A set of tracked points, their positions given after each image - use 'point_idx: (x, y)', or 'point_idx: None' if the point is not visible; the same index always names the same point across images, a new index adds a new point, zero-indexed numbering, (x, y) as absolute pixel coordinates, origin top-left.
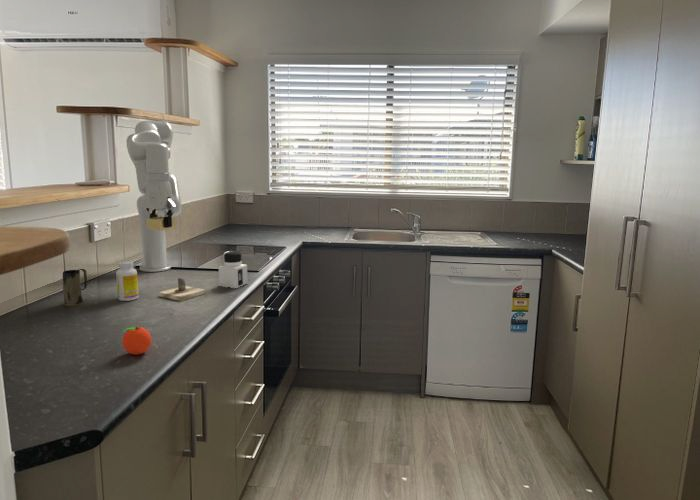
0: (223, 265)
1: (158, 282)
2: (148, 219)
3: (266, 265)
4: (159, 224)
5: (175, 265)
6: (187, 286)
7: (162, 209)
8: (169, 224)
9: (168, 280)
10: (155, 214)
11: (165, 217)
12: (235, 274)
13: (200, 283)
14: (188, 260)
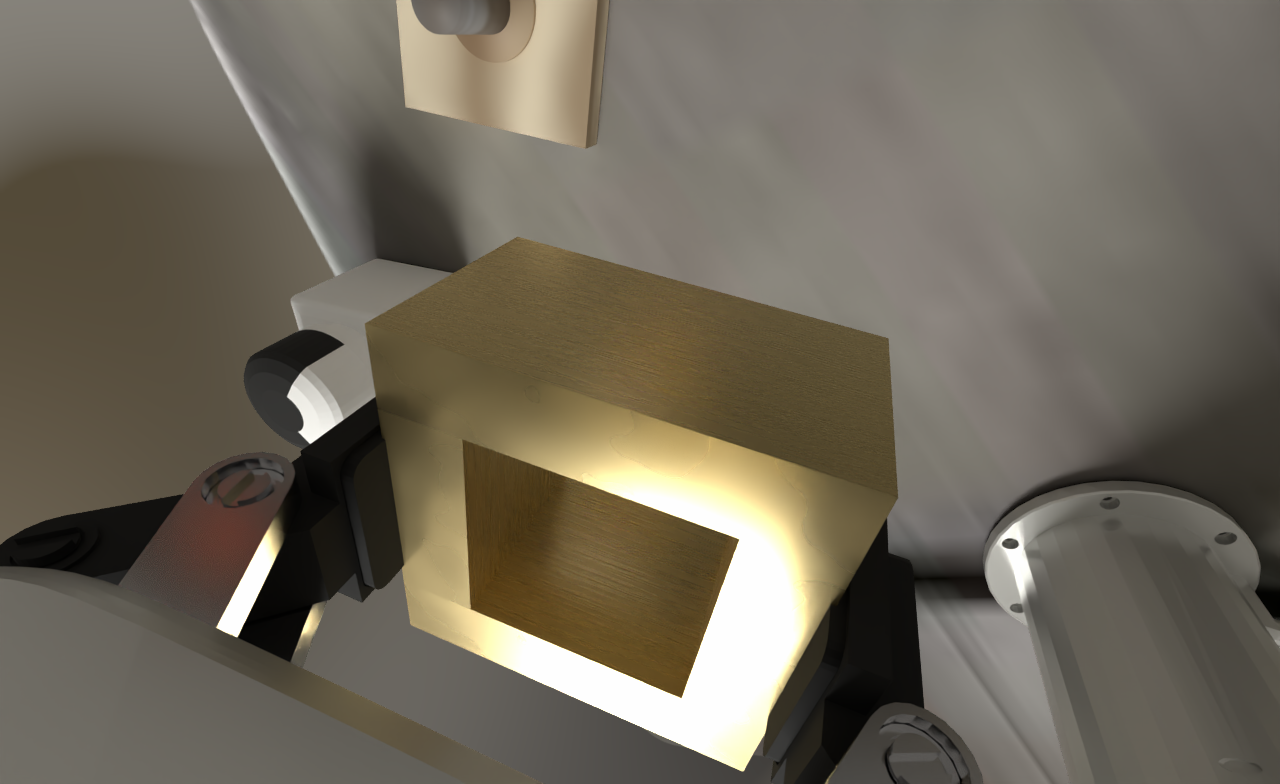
0: None
1: (871, 247)
2: (813, 448)
3: None
4: (449, 278)
5: (993, 635)
6: (539, 130)
7: (35, 568)
8: None
9: (828, 314)
10: (788, 761)
11: (319, 463)
12: (316, 286)
13: None
14: (968, 723)
